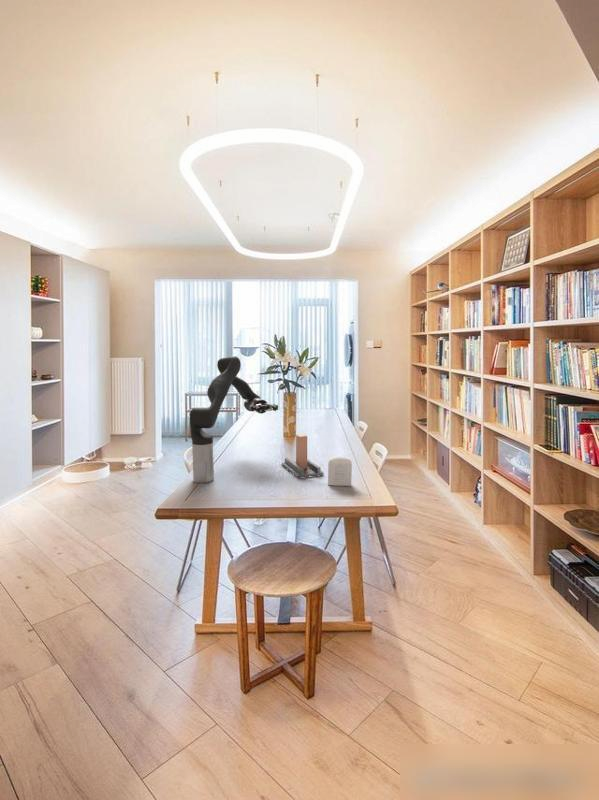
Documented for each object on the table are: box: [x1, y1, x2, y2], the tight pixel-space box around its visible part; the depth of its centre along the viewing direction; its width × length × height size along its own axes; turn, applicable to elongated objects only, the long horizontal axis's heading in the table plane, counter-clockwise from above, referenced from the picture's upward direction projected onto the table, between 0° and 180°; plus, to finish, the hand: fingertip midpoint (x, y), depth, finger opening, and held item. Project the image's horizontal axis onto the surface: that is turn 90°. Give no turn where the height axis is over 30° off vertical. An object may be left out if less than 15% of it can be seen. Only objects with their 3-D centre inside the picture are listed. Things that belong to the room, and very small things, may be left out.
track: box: [281, 456, 324, 479], centre depth 205 cm, size 24×13×4 cm, turn 20°
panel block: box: [295, 433, 308, 469], centre depth 204 cm, size 4×5×16 cm
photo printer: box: [327, 456, 353, 487], centre depth 182 cm, size 10×4×12 cm, turn 85°
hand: (267, 409), depth 211 cm, fingers open, 8 cm apart
